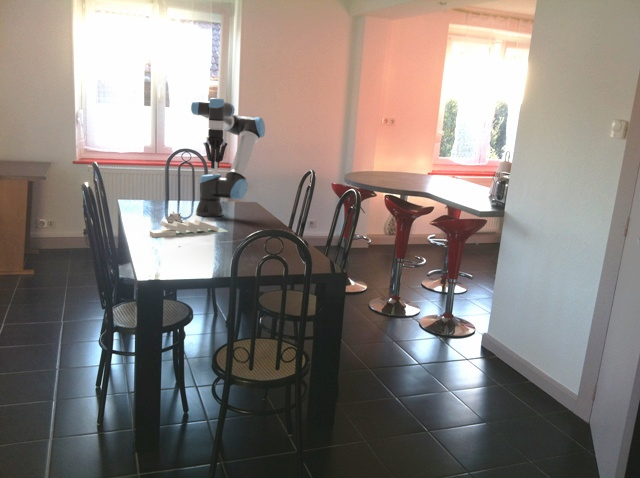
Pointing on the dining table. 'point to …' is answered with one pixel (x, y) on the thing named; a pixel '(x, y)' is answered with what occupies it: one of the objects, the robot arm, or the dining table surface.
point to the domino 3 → (184, 227)
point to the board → (199, 232)
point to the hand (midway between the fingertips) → (214, 174)
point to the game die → (174, 218)
